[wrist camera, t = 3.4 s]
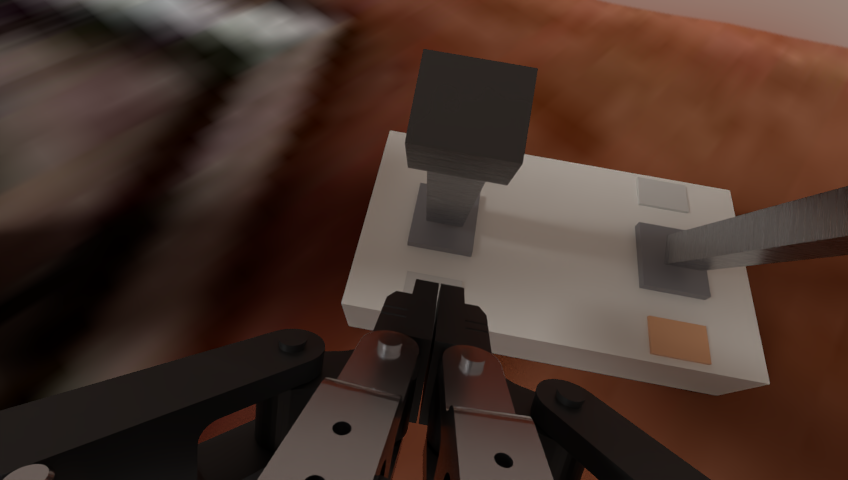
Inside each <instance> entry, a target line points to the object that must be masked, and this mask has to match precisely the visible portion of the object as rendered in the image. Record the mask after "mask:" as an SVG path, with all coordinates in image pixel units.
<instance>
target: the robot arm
mask: <svg viewBox="0 0 848 480" xmlns="http://www.w3.org/2000/svg"><path fill="white" fill-rule="evenodd" d="M438 288H439V283H436V282H431V281H425V280H420V279H416V281H415V285H414V289H413V293H412V294H411V293H406V292H400V291H395V292H394V293H392V294H390V295H389V296H387V297H386V300H385V302H384V305H383V307H382V310H381V313H380V315H379V317H378V320H377V322H376V325H375V327H374V330H373V332H370V333H368V334H366V335H365V336H363V337H362V339H361V340H360V342H359V343H358V345H357V347H356V348H355V349H353V350H349V351H324V350H325V344H324V341H323V340H322V338H320V337H319V336H318V335H316V334H314V333H312V332H309V331H306V330H300V329H284V330H279V331H275V332H271V333H268V334H265V335H261V336H258V337H254V338H251V339H247V340H244V341H240V342H237V343H233V344H230V345H226V346H223V347H220V348H216V349H213V350H209V351H206V352H202V353H199V354H195V355H192V356H188V357H185V358H182V359H178V360H175V361H171V362H168V363H164V364H161V365H157V366H154V367H150V368H147V369H144V370H140V371H137V372H133V373H130V374H126V375H123V376H119V377H116V378H112V379H109V380H105V381H102V382H99V383H95V384H92V385H88V386H85V387H81V388H78V389H74V390H71V391H67V392H64V393H61V394H57V395H54V396H50V397H47V398H43V399H40V400H36V401H33V402H29V403H26V404H23V405H19V406H16V407H12V408H9V409H5V410H2V411H0V480H392V479H393V475H394V472H395V468H396V464H397V461H398V457H399V454H400V450H401V446H402V440H403V437H404V436H405V434H406V432H407V429H408V424H409V422H412V423H416V421H417V416H418V410H419V405H420V400H421V395H422V390H423V395H422V403H421V410H420V418H419V424H423V425H428V428H427V435H426V440H425V445H424V450H423V480H580V479H581V476H582V473H583V471H584V468H586V469H587V470H588V471H590V472H591V473H592V474H593V475H594V476H595V477H596V478H597V479H599V480H710V479H709V478H708V477H706V476H705V475H703V474H702V473H701V472H699V471H698V470H696V469H695V468H694V467H692V466H691V465H690V464H688V463H687V462H685V461H684V460H683V459H681V458H680V457H678V456H677V455H676V454H674V453H673V452H671V451H670V450H669V449H667V448H666V447H665V446H663V445H662V444H660V443H659V442H658V441H656V440H655V439H653V438H652V437H651V436H649V435H648V434H647V433H645V432H644V431H642V430H641V429H640V428H638V427H637V426H635V425H634V424H633V423H631V422H630V421H629V420H627V419H626V418H624V417H623V416H622V415H620V414H619V413H617V412H616V411H615V410H613V409H612V408H611V407H609V406H608V405H606V404H605V403H604V402H602V401H601V400H599V399H598V398H597V397H595V396H594V395H592V394H591V393H590V392H588V391H587V390H585V389H584V388H582V387H580V386H578V385H576V384H573V383H571V382H568V381H564V380H558V379H548V380H544V381H542V382H540V383H539V384H538V386H537V388H536V392H534V391H531V390H529V389H526V388H524V387H521V386H519V385H517V384H514V383H513V382H511V381H509V380H508V379H506V378H505V376H504V373H503V369H502V366H501V363H500V362H499V360H498V359H497V358H496V357H495V356H493V355H492V351H491V344H490V337H489V329H488V322H487V315H486V314H485V313H484V312H483V310H482V309H481V308H480V307H479V306H476V305H470V304H465V298H464V288H463V287H458V286H453V285H447V284H442V283H441V286H440V290H439V296H438ZM437 296H438V301H437ZM436 304H437V306H436ZM424 379H425V380H424ZM423 385H424V388H423ZM253 404H256V417H255V420H253V421H250V422H248V423H246V424H243V425H241V426H239V427H237V428H234V429H232V430H230V431H227V432H225V433H223V434H221V435H218V436H216V437H214V438H211V439H209V440H207V441H205V442H202V443H200V444H198V439H199V437H200V435H201V433H202V432H203V430H204V429H205V428H206V427H207V426H208V425H209V424H211V423H212V422H214V421H215V420H217V419H219V418H222V417H224V416H227V415H229V414H231V413H234V412H236V411H239V410H241V409H244V408H246V407H249V406H251V405H253Z"/></svg>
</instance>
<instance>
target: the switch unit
mask: <svg viewBox="0 0 848 480" xmlns="http://www.w3.org/2000/svg"><path fill="white" fill-rule="evenodd" d="M406 134H407V133H401V132H396V131H390V132H389V136H388V139H387V143H386V146H385V150H384V153H383V157H382V161H381V164H380V168H379V171H378V175H377V178H376V182H375V185H374V189H373V193H372V196H371V200H370V203H369V207H368V210H367V214H366V217H365V221H364V224H363V228H362V232H361V235H360V239H359V242H358V246H357V249H356V253H355V256H354V260H353V264H352V267H351V271H350V274H349V278H348V281H347V285H346V288H345V292H344V295H343V299H342V303H341V304H342V307H343V310H344V313H345V316H346V319H347V322H348V325H349V326H352V327H357V328H363V329H368V330H374V327H375V325H376V322H377V320H378V317H379V315H380V313H381V310H382V307H383V305H384V302H385V300H386V297H387V296H389V295H390V294H392V293H394V292H395V291H400V292H406V293H411V294H412V293H413V289H414V285H415V281H416V279H420V280H425V281H431V282H436V283H439V288H438V296H439V290H440V286H441V283H442V284H447V285H453V286H458V287H463V288H464V298H465V304H470V305H476V306H479V307H480V308H481V309H482V310H483V312H484V313H485V314H486V315H487V322H488V329H489V337H490V344H491V351H492V353H494V354H500V355H505V356H510V357H515V358H521V359H526V360H531V361H536V362H542V363H547V364H552V365H557V366H563V367H568V368H573V369H579V370H584V371H589V372H594V373H600V374H605V375H610V376H615V377H621V378H626V379H631V380H636V381H642V382H647V383H652V384H658V385H663V386H668V387H673V388H679V389H684V390H689V391H694V392H700V393H705V394H710V395H716V396H718V395H722V394H727V393H732V392H736V391H741V390H746V389H750V388H755V387H760V386H765V385H769V384H770V381H769V377H768V372H767V367H766V362H765V357H764V352H763V348H762V343H761V338H760V333H759V328H758V324H757V319H756V314H755V309H754V304H753V299H752V295H751V290H750V285H749V280H748V275H747V271H746V266H742V267H733V268H724V269H715V270H705V271H699V270H694V269H688V268H683V267H677V266H672V265H666V264H664V262H665V253H666V243H667V235H670V234H673V233H677V232H681V231H684V230H688V229H692V228H695V227H699V226H703V225H706V224H710V223H714V222H718V221H721V220H725V219H729V218H732V217H735V213H734V208H733V203H732V198H731V194H730V190H725V189H719V188H713V187H708V186H702V185H696V184H691V183H685V182H679V181H673V180H668V179H662V178H656V177H651V176H645V175H639V174H634V173H628V172H622V171H617V170H611V169H605V168H600V167H594V166H588V165H583V164H577V163H571V162H566V161H560V160H554V159H549V158H543V157H537V156H532V155H526V154H524V159H523V164H522V166H521V167H520V168H519V170H518V171H517V173H516V174H515V175H514V177H513V178H512V180H511V181H510V182H509V184H508V185H501V184H496V183H490V182H485V184H484V186H483V188H482V190H481V192H480V194H479V196H478V198H477V200H476V201H475V203H474V205H473V207H472V209H471V211H470V213H469V215H468V217H467V219H466V221H465V223H464V225H463V227H458V226H452V225H447V224H441V223H436V222H430V221H426V201H427V171H423V170H417V169H412V168H408V165H407V157H406V149H405V139H406ZM438 296H437V301H438ZM436 306H437V304H436Z"/></svg>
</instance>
